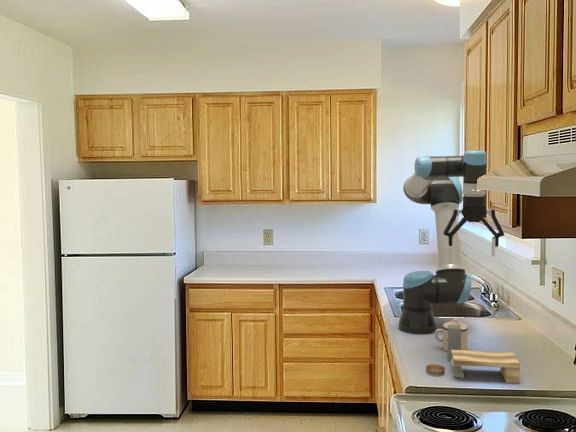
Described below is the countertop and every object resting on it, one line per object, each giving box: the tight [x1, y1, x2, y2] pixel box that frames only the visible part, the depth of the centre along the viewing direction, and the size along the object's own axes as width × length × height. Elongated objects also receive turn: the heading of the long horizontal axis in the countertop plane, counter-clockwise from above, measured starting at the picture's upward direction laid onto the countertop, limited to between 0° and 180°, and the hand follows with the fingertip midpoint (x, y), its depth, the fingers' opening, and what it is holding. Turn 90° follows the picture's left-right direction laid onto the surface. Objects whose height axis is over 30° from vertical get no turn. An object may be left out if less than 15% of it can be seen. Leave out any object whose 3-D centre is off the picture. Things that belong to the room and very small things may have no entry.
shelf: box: [451, 349, 521, 384], centre depth 191 cm, size 10×20×6 cm, turn 80°
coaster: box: [425, 363, 446, 376], centre depth 194 cm, size 6×6×2 cm
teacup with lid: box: [433, 317, 469, 353], centre depth 215 cm, size 12×9×12 cm
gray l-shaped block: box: [447, 325, 465, 379], centre depth 198 cm, size 18×4×12 cm, turn 170°
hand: (472, 255), depth 205 cm, fingers open, 13 cm apart
